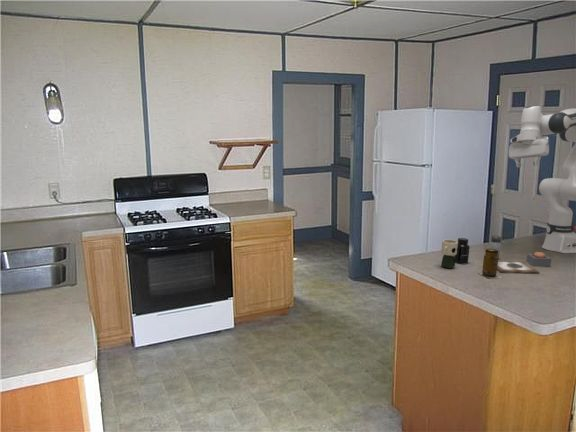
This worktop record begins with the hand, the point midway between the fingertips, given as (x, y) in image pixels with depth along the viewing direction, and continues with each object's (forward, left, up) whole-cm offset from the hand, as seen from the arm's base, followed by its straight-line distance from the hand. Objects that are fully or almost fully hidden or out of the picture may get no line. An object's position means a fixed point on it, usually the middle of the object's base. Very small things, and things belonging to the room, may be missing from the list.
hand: (526, 166), depth 234 cm
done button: (-8, +5, -45) cm, 46 cm away
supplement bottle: (+30, +5, -48) cm, 57 cm away
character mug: (+39, +14, -48) cm, 63 cm away
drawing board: (+8, +13, -48) cm, 50 cm away
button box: (-8, +5, -48) cm, 49 cm away
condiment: (+23, +25, -48) cm, 59 cm away
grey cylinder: (+11, -2, -48) cm, 49 cm away
